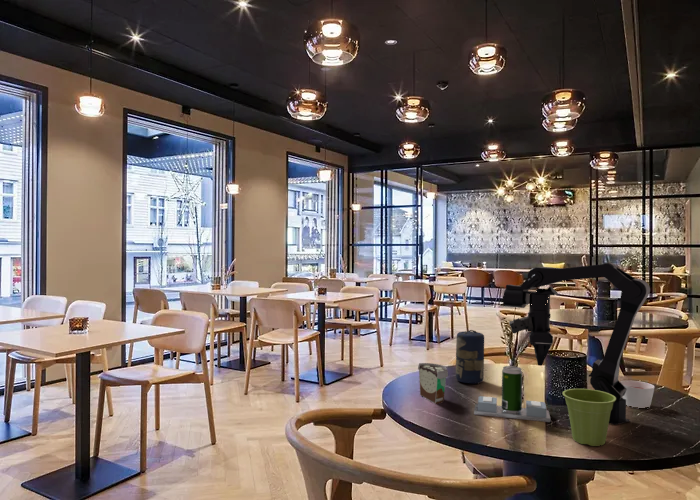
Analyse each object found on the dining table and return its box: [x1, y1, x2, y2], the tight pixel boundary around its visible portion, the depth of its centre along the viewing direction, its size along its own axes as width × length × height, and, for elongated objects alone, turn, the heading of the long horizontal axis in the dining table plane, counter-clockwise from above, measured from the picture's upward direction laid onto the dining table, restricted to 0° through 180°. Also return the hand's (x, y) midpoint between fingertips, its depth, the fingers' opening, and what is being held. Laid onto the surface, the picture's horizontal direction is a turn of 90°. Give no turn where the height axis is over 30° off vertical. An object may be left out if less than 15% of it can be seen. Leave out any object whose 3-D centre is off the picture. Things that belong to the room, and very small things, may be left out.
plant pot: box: [562, 388, 616, 447], centre depth 125 cm, size 12×12×11 cm
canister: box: [455, 329, 485, 384], centre depth 179 cm, size 10×10×18 cm
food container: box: [417, 362, 449, 405], centre depth 158 cm, size 12×6×10 cm, turn 22°
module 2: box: [525, 399, 547, 417], centre depth 143 cm, size 5×6×3 cm
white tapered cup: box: [620, 380, 655, 409], centre depth 154 cm, size 9×9×6 cm
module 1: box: [477, 395, 498, 412], centre depth 146 cm, size 5×6×3 cm
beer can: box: [501, 365, 523, 413], centre depth 144 cm, size 5×5×12 cm
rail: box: [473, 403, 551, 423], centre depth 144 cm, size 20×7×1 cm, turn 73°
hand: (538, 361), depth 152 cm, fingers open, 9 cm apart
